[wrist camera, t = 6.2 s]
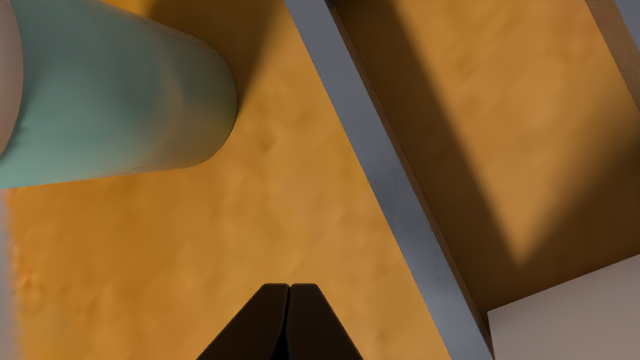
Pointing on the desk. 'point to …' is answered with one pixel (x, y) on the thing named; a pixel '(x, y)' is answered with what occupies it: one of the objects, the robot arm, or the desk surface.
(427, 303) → the frame
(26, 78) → the jar
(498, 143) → the desk surface
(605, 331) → the pusher
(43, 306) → the desk surface
